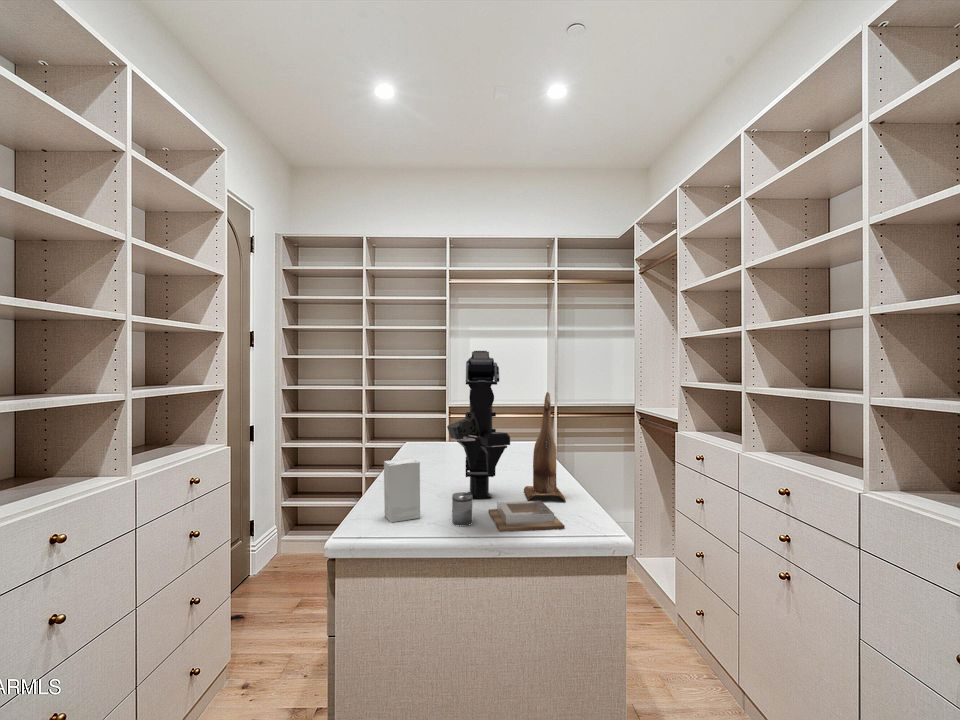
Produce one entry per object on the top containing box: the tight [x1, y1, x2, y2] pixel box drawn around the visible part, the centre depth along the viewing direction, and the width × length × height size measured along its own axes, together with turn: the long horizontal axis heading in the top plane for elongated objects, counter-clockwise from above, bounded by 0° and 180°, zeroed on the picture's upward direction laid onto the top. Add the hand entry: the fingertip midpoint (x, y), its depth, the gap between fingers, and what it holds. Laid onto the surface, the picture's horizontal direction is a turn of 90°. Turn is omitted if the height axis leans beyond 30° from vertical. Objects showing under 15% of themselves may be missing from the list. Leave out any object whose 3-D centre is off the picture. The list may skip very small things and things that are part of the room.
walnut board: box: [488, 508, 566, 533], centre depth 127 cm, size 16×16×1 cm
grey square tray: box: [496, 500, 555, 525], centre depth 127 cm, size 12×12×2 cm
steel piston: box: [451, 492, 473, 527], centre depth 124 cm, size 5×5×7 cm
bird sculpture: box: [523, 391, 567, 503], centre depth 149 cm, size 11×12×32 cm
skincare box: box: [383, 457, 421, 524], centre depth 128 cm, size 8×6×15 cm
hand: (480, 471), depth 123 cm, fingers open, 9 cm apart
